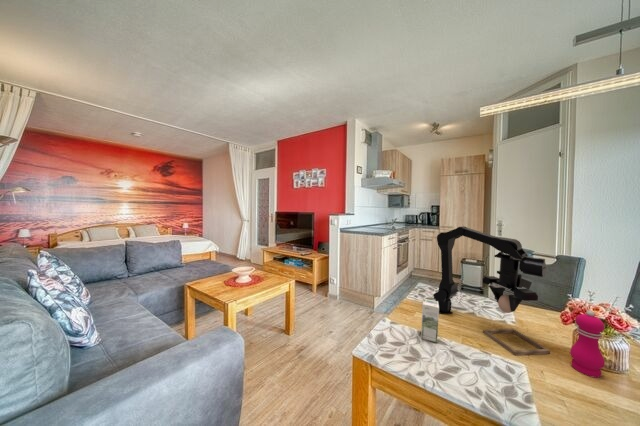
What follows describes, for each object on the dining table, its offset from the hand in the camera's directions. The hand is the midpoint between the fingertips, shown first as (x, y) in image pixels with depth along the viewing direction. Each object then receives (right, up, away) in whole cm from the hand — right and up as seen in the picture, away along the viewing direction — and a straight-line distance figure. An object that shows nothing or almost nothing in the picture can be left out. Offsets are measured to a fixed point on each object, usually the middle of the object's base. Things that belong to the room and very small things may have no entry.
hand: (506, 307), depth 90 cm
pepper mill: (+11, -13, -17) cm, 25 cm away
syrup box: (-32, -12, -1) cm, 34 cm away
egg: (0, -2, 0) cm, 2 cm away
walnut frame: (0, -12, -3) cm, 13 cm away
